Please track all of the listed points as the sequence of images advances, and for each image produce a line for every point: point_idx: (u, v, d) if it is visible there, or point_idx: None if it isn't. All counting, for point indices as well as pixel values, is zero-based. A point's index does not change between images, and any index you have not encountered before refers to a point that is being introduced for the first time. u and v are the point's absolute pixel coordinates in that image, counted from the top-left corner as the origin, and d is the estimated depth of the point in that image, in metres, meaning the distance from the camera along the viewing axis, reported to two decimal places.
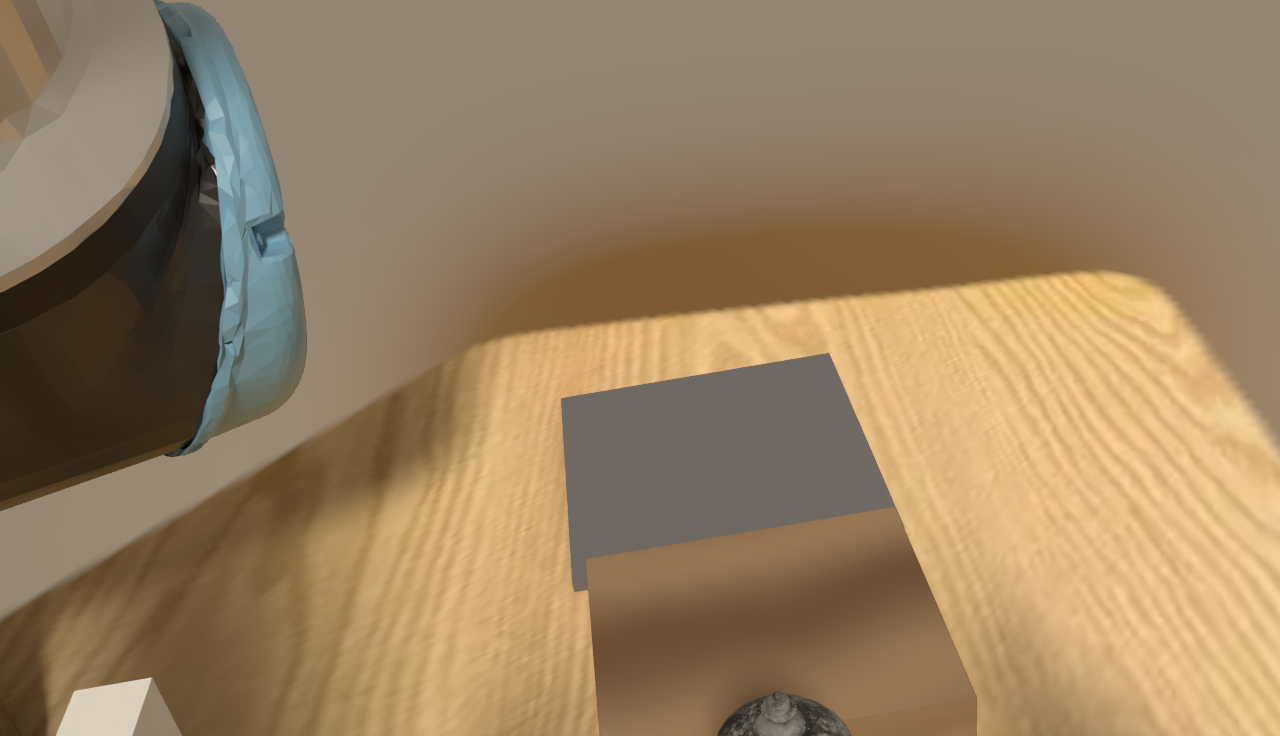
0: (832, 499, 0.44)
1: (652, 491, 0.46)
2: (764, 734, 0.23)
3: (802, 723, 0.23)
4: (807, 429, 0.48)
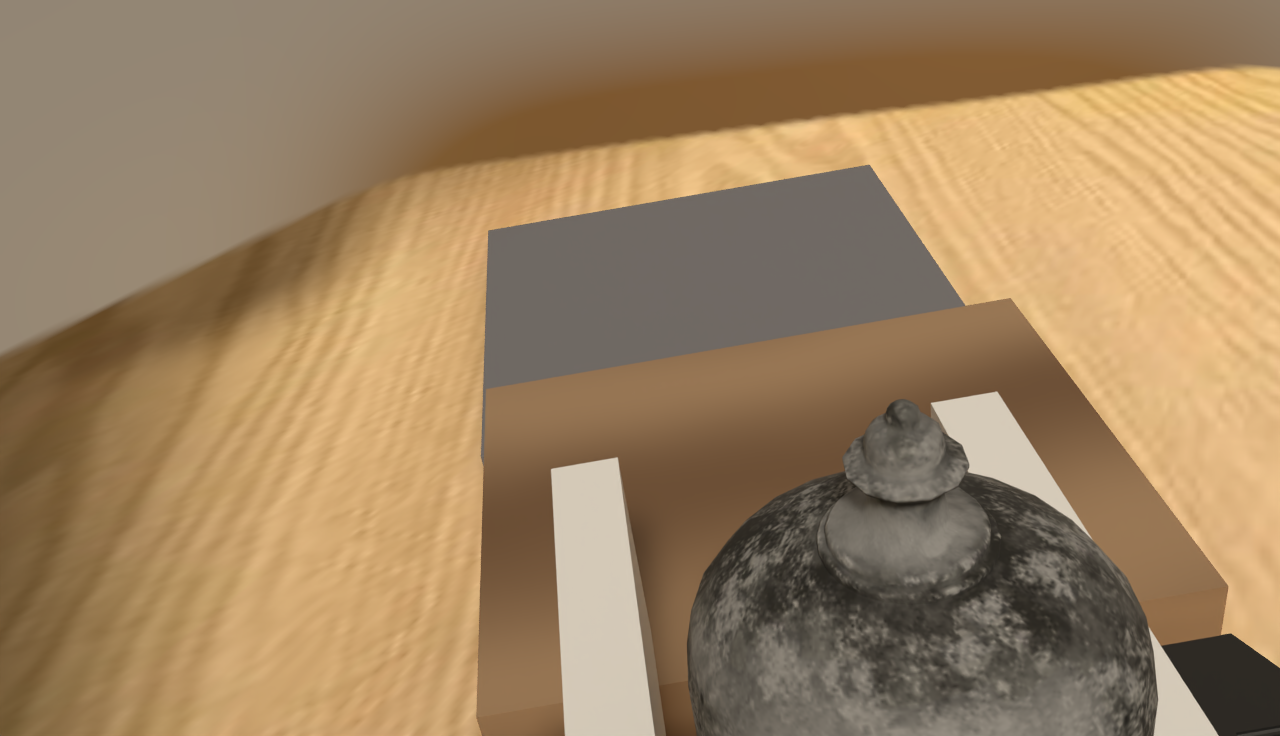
0: None
1: (613, 334, 0.31)
2: (855, 553, 0.07)
3: (979, 518, 0.07)
4: (844, 251, 0.33)
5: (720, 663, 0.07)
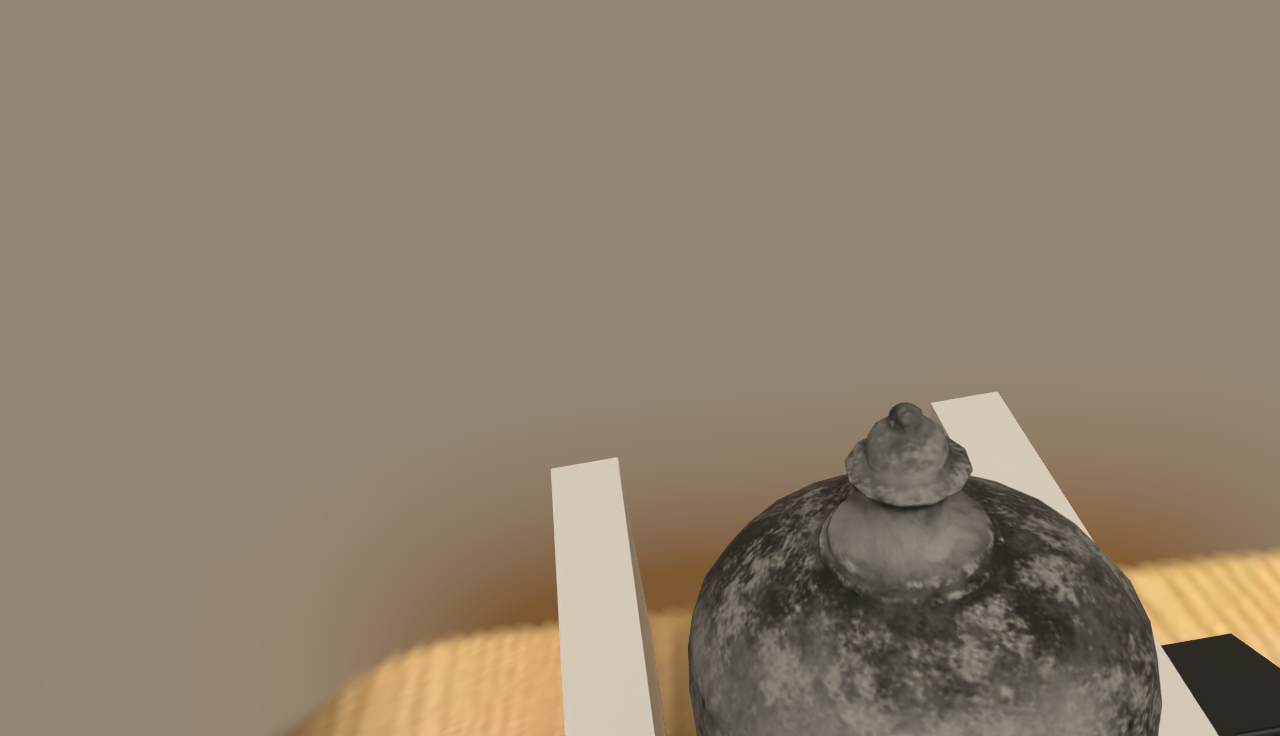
0: None
1: None
2: (857, 558, 0.07)
3: (982, 522, 0.07)
4: None
5: (722, 668, 0.07)
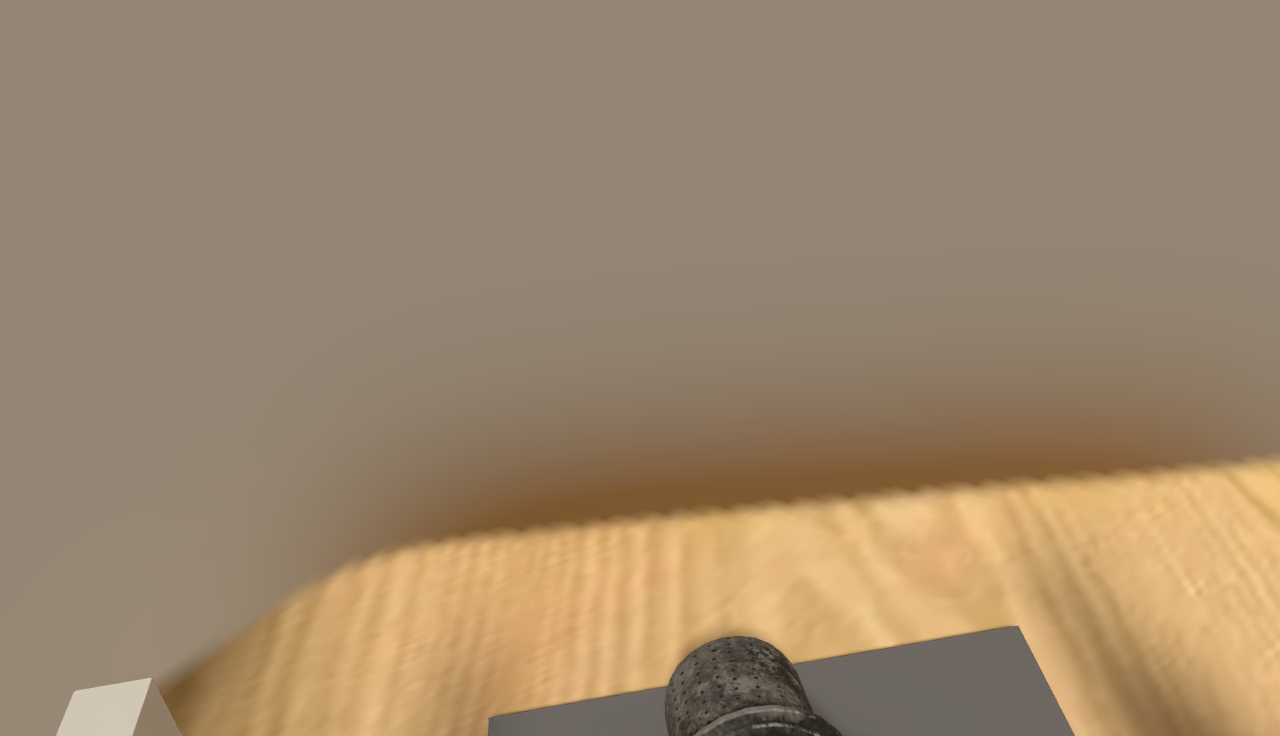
0: None
1: None
2: None
3: None
4: None
5: None
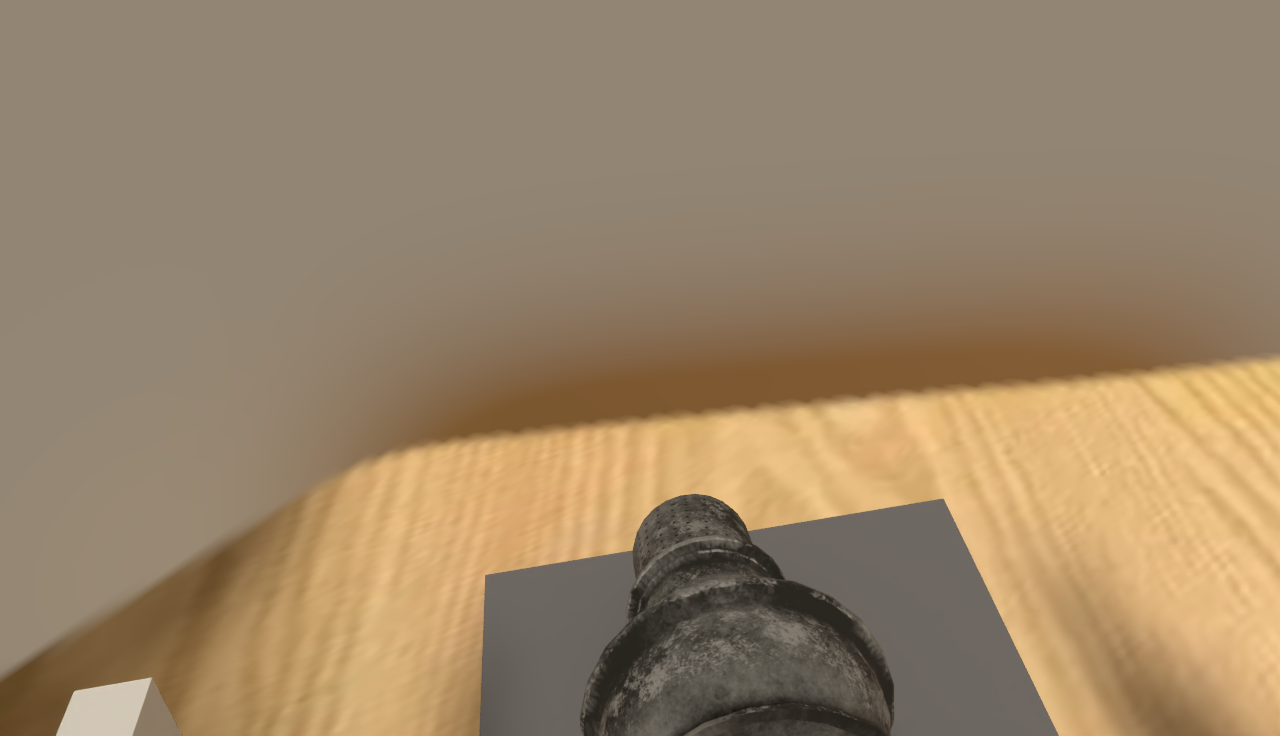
0: None
1: None
2: None
3: None
4: (922, 662, 0.26)
5: None
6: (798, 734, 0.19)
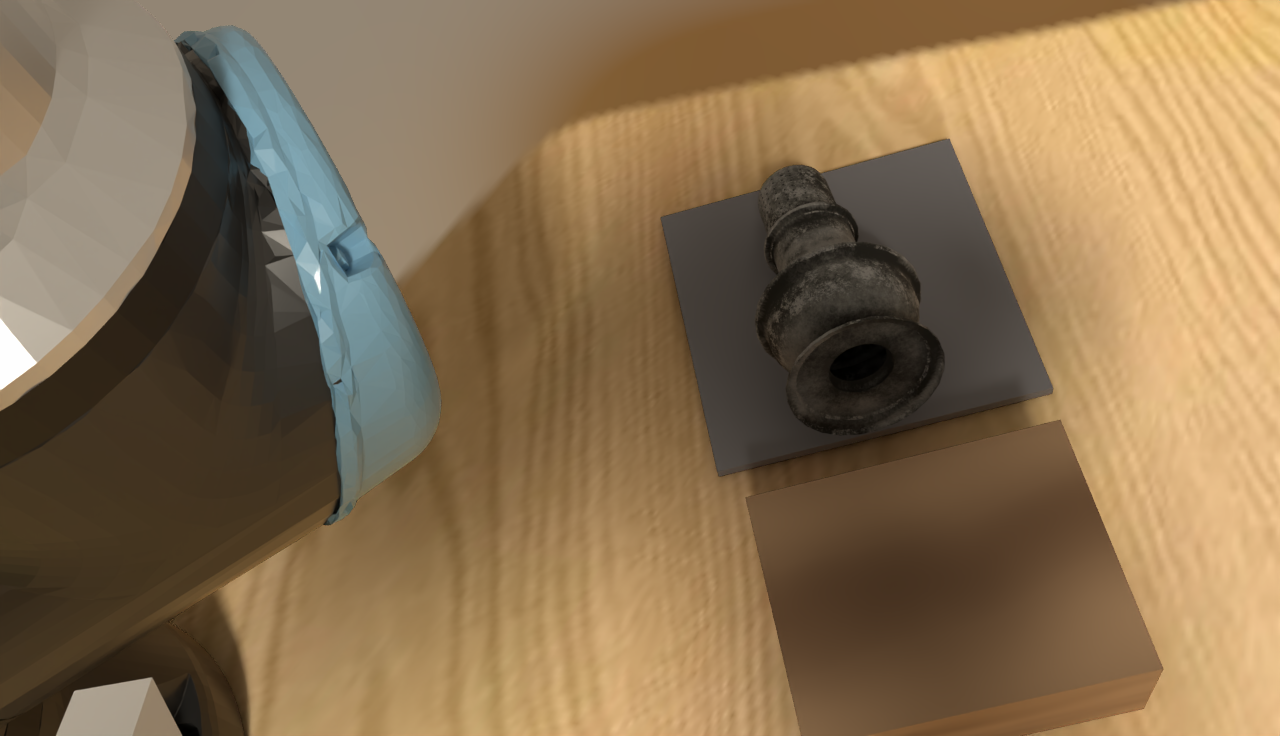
0: (973, 352, 0.43)
1: None
2: None
3: None
4: (936, 254, 0.45)
5: None
6: (874, 327, 0.38)
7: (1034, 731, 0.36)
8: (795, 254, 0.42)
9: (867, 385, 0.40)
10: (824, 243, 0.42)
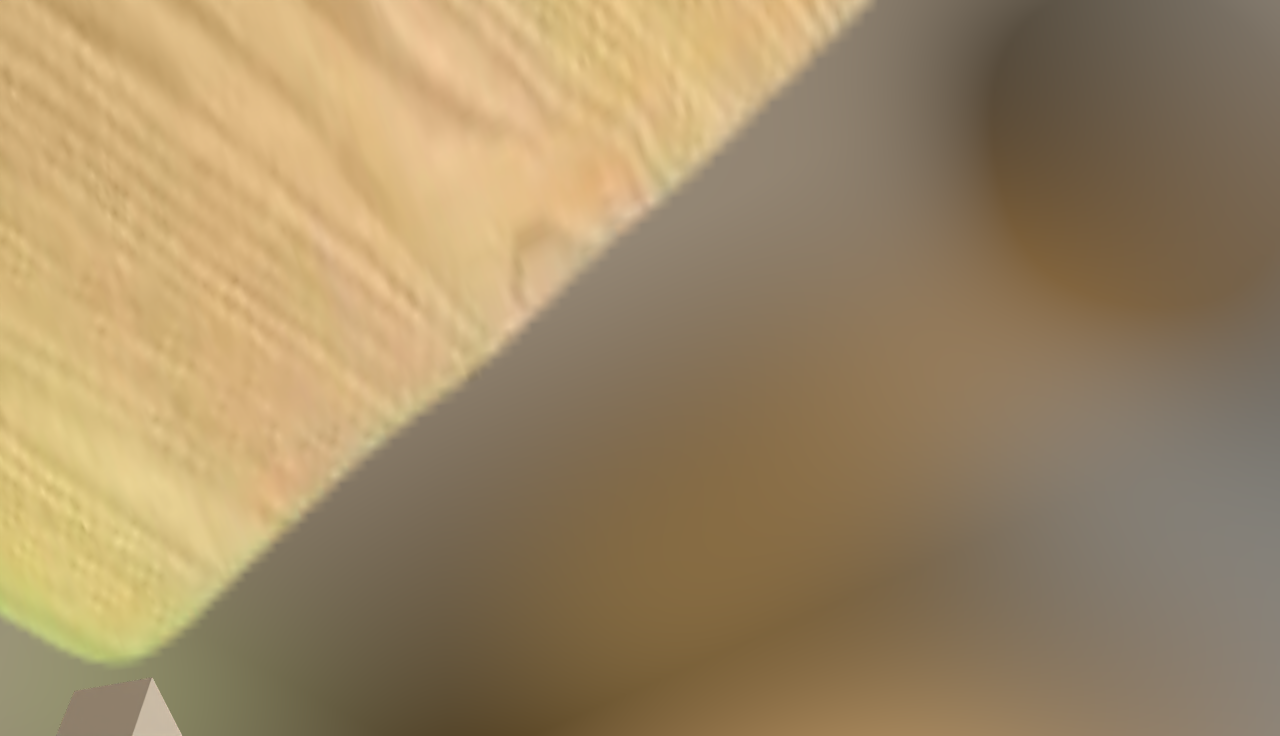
0: None
1: None
2: None
3: None
4: None
5: None
6: None
7: None
8: None
9: None
10: None
